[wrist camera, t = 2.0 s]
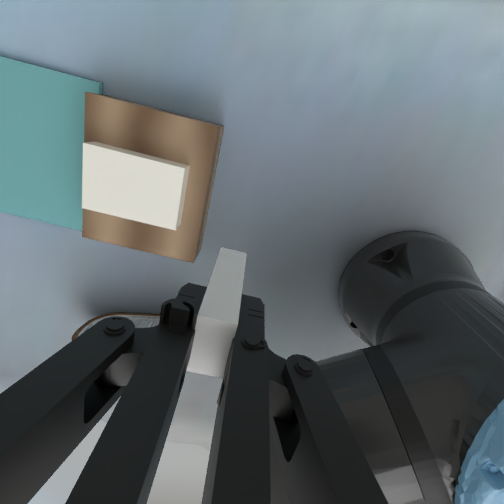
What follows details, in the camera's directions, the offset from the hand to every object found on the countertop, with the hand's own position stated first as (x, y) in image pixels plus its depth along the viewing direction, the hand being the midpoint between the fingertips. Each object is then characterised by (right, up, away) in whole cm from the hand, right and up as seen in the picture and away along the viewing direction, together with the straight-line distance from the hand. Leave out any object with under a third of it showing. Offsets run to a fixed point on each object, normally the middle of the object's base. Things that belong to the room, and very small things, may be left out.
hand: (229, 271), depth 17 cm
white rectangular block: (-10, +8, +12) cm, 17 cm away
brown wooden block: (-9, +9, +16) cm, 20 cm away
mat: (-24, +13, +15) cm, 31 cm away
